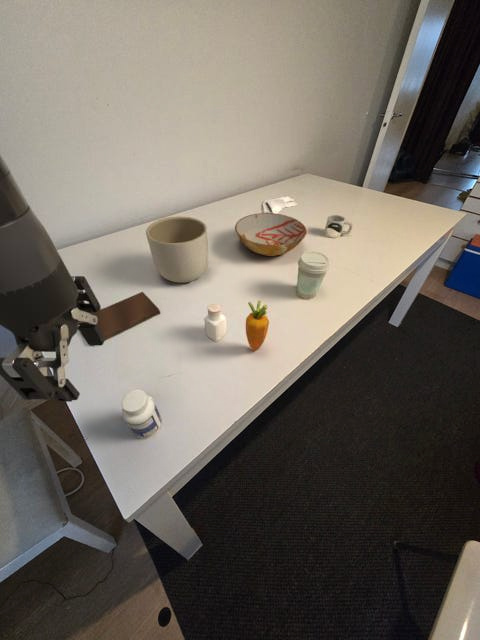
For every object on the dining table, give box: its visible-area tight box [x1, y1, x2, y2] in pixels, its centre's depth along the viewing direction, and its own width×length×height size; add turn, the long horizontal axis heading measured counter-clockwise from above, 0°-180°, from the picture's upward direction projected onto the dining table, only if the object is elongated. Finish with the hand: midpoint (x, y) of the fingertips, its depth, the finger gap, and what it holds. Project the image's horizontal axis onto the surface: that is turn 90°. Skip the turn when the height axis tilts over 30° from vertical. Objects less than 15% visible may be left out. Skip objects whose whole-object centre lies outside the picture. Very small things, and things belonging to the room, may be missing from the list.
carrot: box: [245, 300, 270, 352], centre depth 58 cm, size 5×5×15 cm
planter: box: [145, 216, 209, 284], centre depth 80 cm, size 17×17×15 cm
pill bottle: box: [121, 389, 162, 439], centre depth 46 cm, size 5×5×10 cm
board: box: [92, 291, 161, 347], centre depth 69 cm, size 18×10×2 cm, turn 131°
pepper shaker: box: [203, 302, 227, 342], centre depth 63 cm, size 4×4×10 cm
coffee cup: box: [296, 251, 330, 300], centre depth 75 cm, size 8×8×12 cm
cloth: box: [262, 196, 298, 214], centre depth 125 cm, size 26×14×2 cm, turn 135°
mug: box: [323, 214, 354, 239], centre depth 103 cm, size 10×7×7 cm, turn 76°
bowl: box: [234, 212, 308, 257], centre depth 94 cm, size 25×25×8 cm
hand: (85, 368), depth 35 cm, fingers open, 8 cm apart
